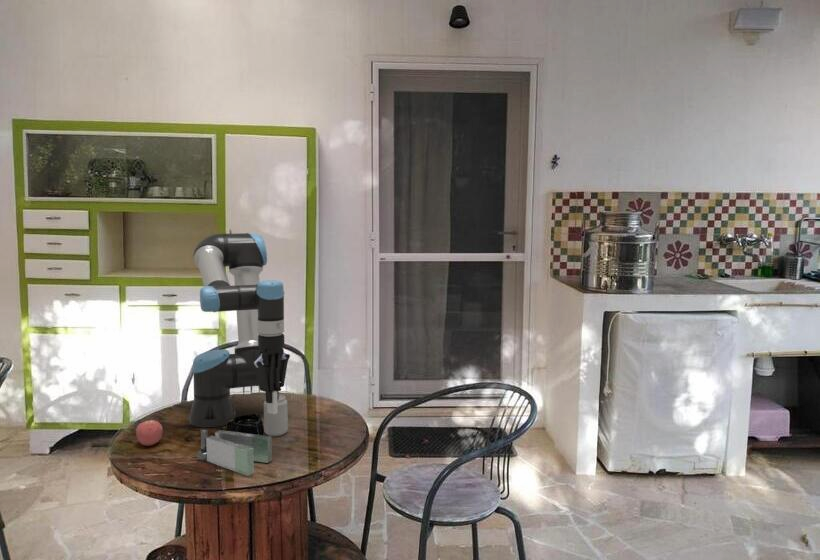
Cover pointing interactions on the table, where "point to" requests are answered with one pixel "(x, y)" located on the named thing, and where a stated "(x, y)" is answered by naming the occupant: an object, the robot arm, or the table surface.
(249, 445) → the tong jaw
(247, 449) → the base
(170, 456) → the table surface
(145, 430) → the apple
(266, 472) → the table surface
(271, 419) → the can
